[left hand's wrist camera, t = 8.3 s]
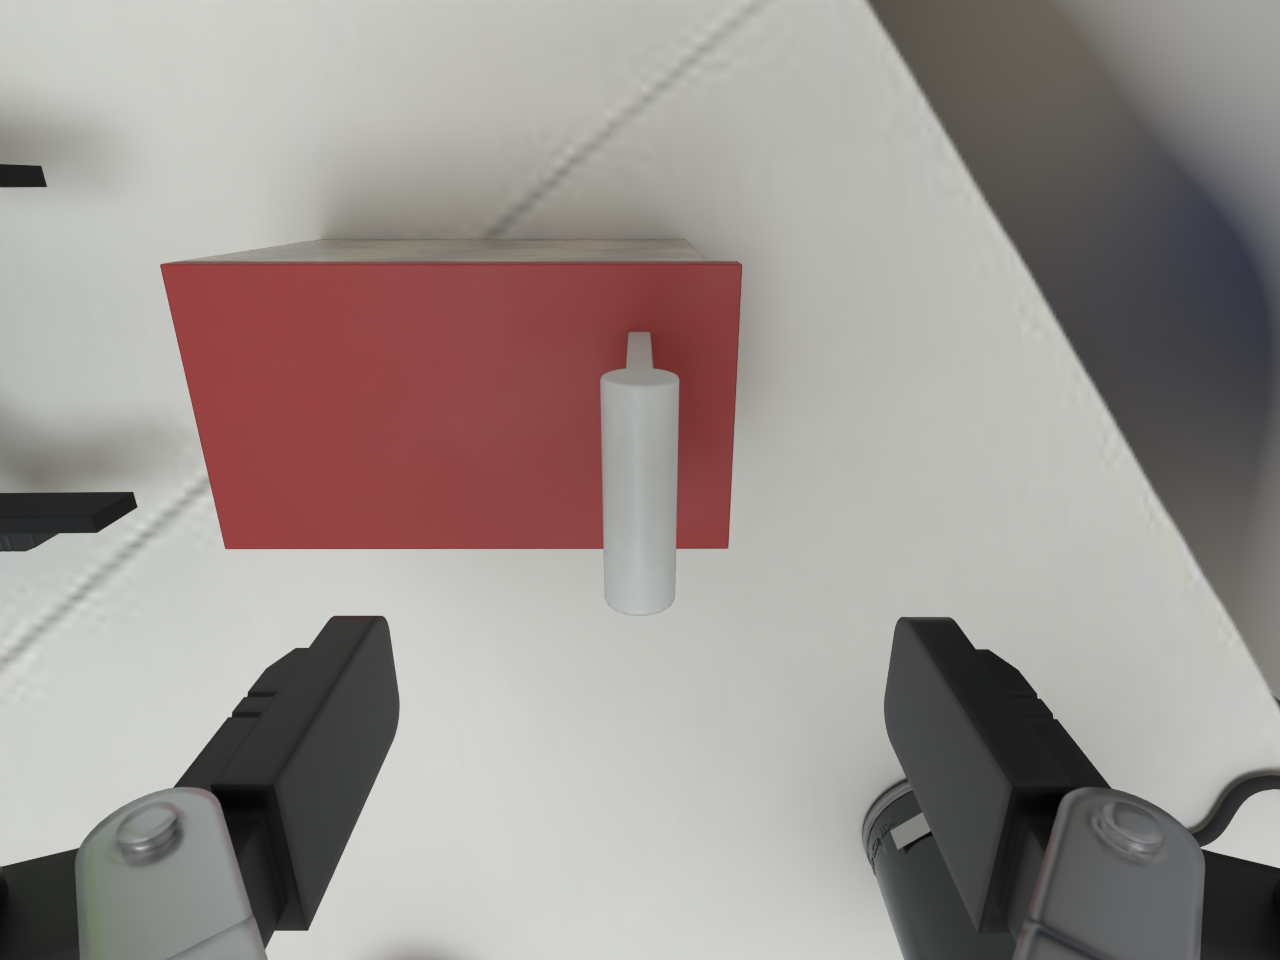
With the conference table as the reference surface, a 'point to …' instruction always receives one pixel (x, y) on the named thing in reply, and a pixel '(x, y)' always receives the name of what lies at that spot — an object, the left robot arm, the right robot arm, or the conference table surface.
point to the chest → (467, 251)
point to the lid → (468, 406)
